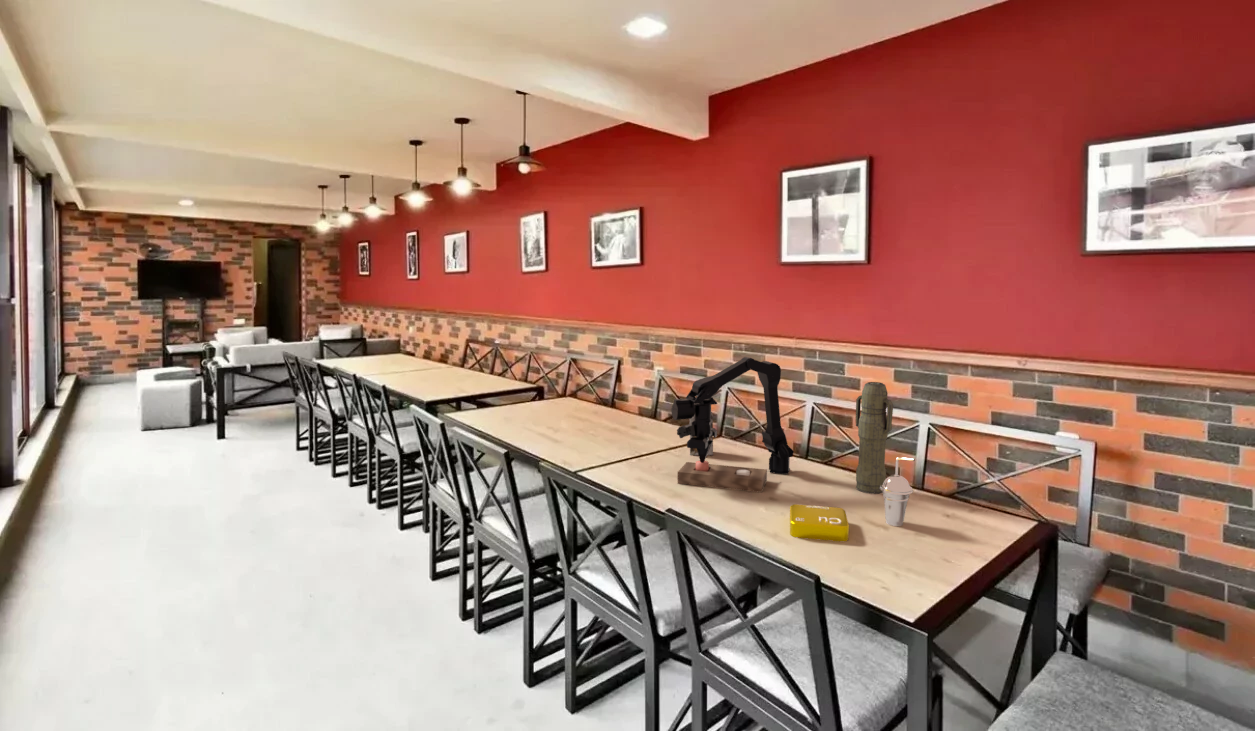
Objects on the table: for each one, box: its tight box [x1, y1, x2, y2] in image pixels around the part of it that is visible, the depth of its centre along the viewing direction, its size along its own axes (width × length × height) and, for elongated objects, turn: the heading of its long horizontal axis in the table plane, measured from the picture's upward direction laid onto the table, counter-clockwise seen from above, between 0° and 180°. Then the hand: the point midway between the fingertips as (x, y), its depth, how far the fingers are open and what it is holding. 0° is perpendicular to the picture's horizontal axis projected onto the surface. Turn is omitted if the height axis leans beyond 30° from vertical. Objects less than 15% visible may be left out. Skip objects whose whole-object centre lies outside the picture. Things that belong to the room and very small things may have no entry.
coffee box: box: [689, 411, 714, 456], centre depth 248 cm, size 9×6×16 cm
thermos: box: [855, 381, 894, 495], centre depth 203 cm, size 9×12×35 cm
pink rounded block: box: [695, 460, 710, 472], centre depth 216 cm, size 4×4×4 cm
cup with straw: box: [880, 456, 915, 527], centre depth 176 cm, size 8×9×20 cm
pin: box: [736, 470, 750, 476], centre depth 211 cm, size 4×4×4 cm
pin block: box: [677, 461, 768, 493], centre depth 214 cm, size 28×12×4 cm, turn 70°
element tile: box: [789, 503, 850, 542], centre depth 174 cm, size 15×15×5 cm
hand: (702, 462), depth 215 cm, fingers closed, pressing on pink rounded block
